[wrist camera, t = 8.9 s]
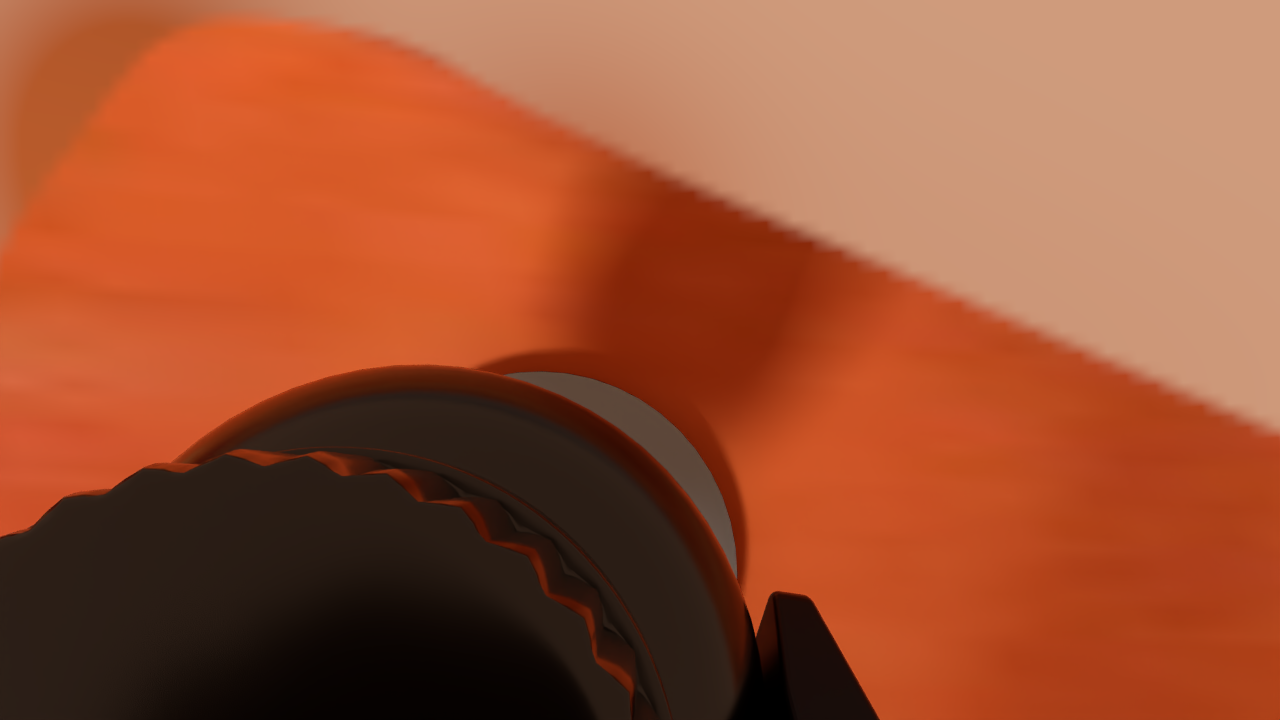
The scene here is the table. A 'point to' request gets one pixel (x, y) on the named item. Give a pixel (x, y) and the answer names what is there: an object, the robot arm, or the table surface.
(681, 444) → the coaster
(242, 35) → the table surface
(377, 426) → the supplement bottle
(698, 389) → the table surface
